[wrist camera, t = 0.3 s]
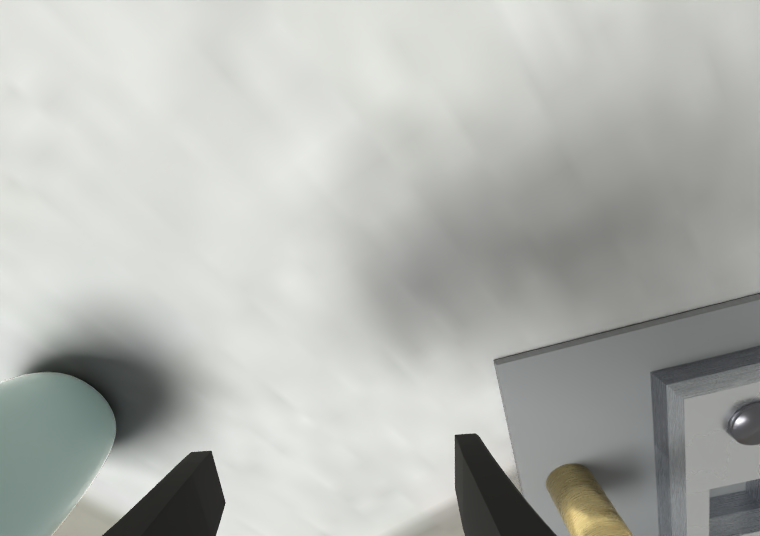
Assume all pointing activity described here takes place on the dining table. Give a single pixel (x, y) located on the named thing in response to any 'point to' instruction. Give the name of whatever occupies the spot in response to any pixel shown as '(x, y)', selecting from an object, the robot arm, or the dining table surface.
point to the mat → (610, 405)
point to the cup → (49, 449)
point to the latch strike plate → (708, 445)
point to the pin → (584, 503)
